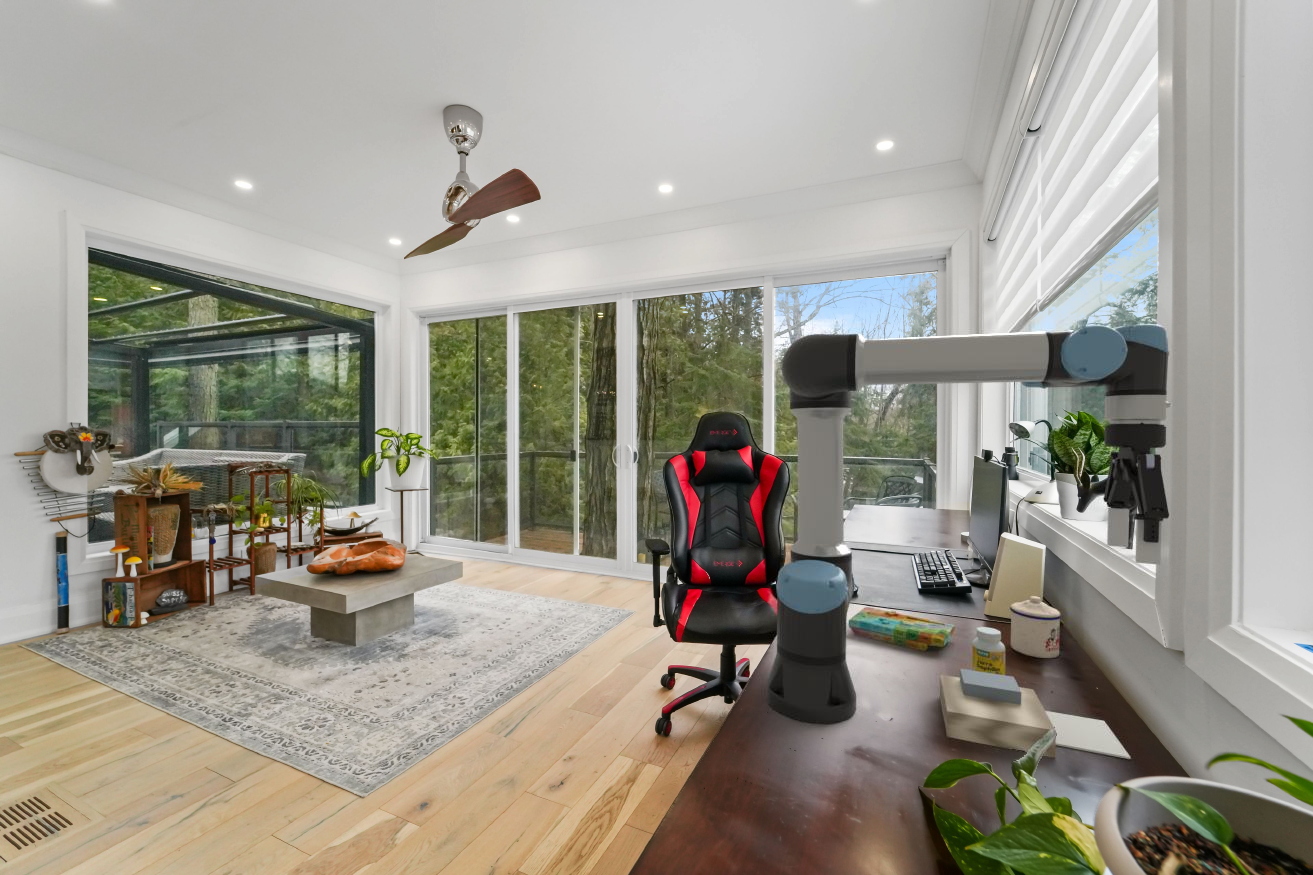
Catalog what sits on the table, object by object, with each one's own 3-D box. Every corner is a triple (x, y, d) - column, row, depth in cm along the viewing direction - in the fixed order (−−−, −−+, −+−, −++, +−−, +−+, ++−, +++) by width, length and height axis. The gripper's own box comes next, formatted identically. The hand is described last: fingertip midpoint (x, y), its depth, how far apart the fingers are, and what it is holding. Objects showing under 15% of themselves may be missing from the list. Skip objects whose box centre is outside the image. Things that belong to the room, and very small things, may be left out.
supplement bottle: (1004, 678, 107) (1005, 628, 107) (1005, 689, 102) (1006, 637, 102) (972, 672, 109) (972, 623, 109) (971, 682, 105) (972, 632, 105)
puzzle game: (864, 603, 138) (955, 621, 126) (864, 622, 138) (954, 642, 126) (848, 616, 129) (944, 636, 116) (848, 636, 129) (943, 658, 116)
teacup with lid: (1056, 663, 114) (1057, 606, 114) (1004, 650, 120) (1005, 597, 120) (1065, 646, 122) (1066, 594, 122) (1017, 636, 129) (1018, 585, 129)
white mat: (1050, 744, 84) (1050, 742, 84) (1033, 710, 94) (1033, 708, 94) (1130, 759, 81) (1130, 757, 81) (1104, 722, 91) (1104, 720, 91)
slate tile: (963, 694, 91) (964, 682, 91) (959, 679, 97) (960, 668, 97) (1021, 704, 88) (1021, 692, 88) (1013, 688, 94) (1013, 676, 94)
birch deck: (946, 736, 86) (947, 710, 86) (939, 696, 99) (940, 674, 99) (1055, 757, 81) (1055, 730, 81) (1032, 712, 94) (1033, 689, 94)
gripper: (1202, 421, 77) (1198, 574, 77) (1136, 423, 99) (1133, 542, 100) (1133, 421, 80) (1129, 568, 80) (1084, 423, 103) (1081, 538, 103)
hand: (1131, 554), depth 90 cm, fingers open, 13 cm apart
